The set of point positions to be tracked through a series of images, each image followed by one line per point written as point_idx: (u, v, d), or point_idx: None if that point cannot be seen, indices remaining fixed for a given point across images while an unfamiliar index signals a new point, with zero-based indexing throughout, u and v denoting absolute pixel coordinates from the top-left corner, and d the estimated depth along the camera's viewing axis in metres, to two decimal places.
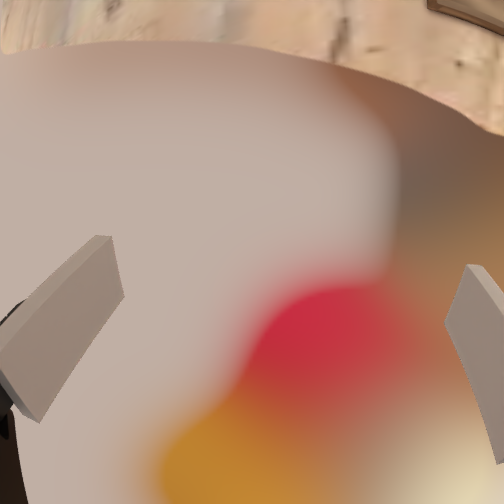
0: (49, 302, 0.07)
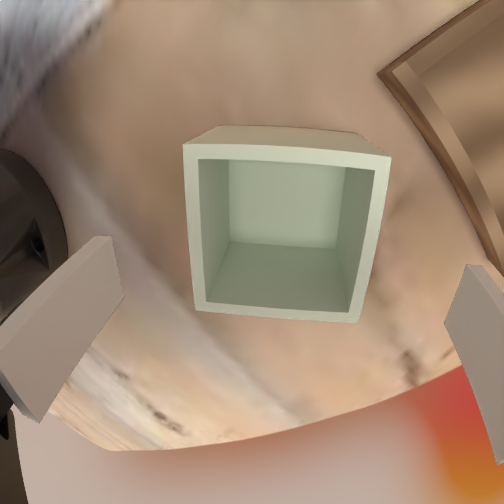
0: (49, 302, 0.07)
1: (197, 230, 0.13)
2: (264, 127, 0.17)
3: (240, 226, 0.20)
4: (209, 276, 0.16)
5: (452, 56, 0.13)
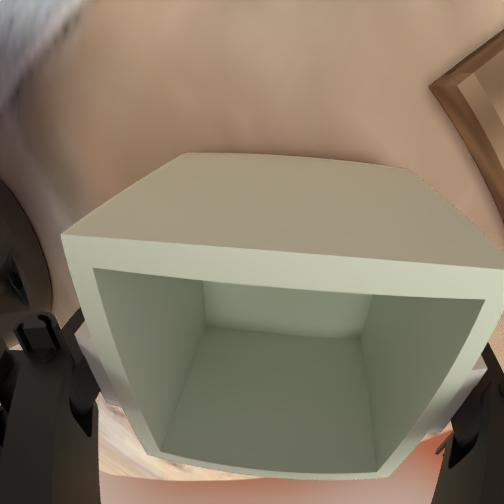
0: None
1: (123, 380, 0.07)
2: (255, 159, 0.10)
3: (221, 307, 0.13)
4: (163, 415, 0.09)
5: None
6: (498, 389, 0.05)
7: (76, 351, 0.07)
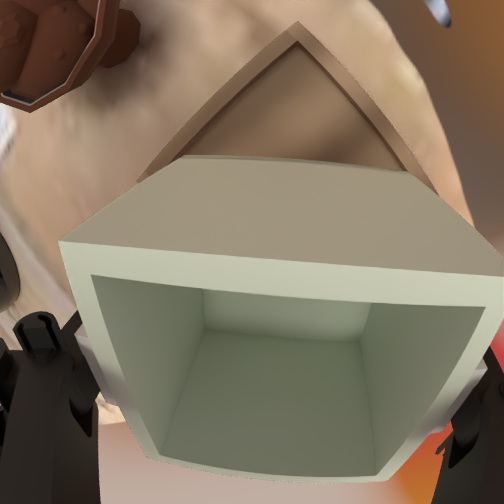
0: None
1: (122, 385, 0.06)
2: (254, 162, 0.10)
3: (221, 310, 0.13)
4: (163, 419, 0.09)
5: (202, 146, 0.23)
6: (498, 389, 0.05)
7: (76, 351, 0.07)
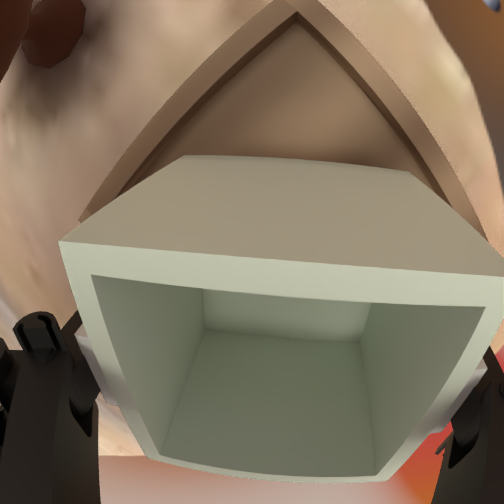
0: None
1: (122, 385, 0.06)
2: (254, 162, 0.10)
3: (221, 310, 0.13)
4: (163, 419, 0.09)
5: None
6: (498, 389, 0.05)
7: (76, 351, 0.07)
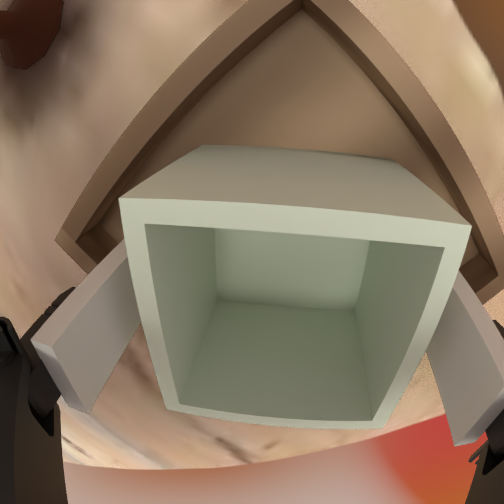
0: (102, 290, 0.08)
1: (156, 326, 0.08)
2: (263, 150, 0.12)
3: (231, 281, 0.15)
4: (183, 370, 0.11)
5: None
6: None
7: (35, 356, 0.06)
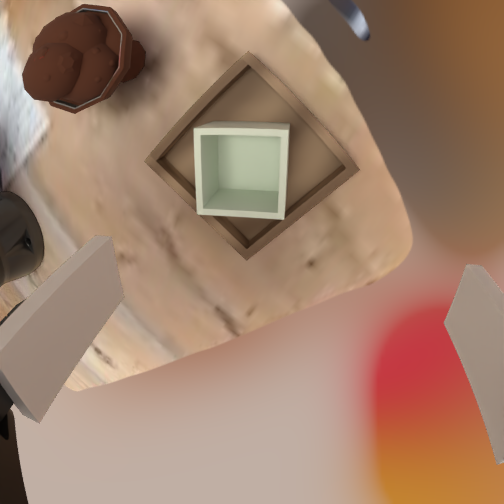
0: (49, 302, 0.07)
1: (199, 169, 0.27)
2: (236, 121, 0.31)
3: (225, 178, 0.34)
4: (205, 196, 0.29)
5: (189, 137, 0.33)
6: None
7: None
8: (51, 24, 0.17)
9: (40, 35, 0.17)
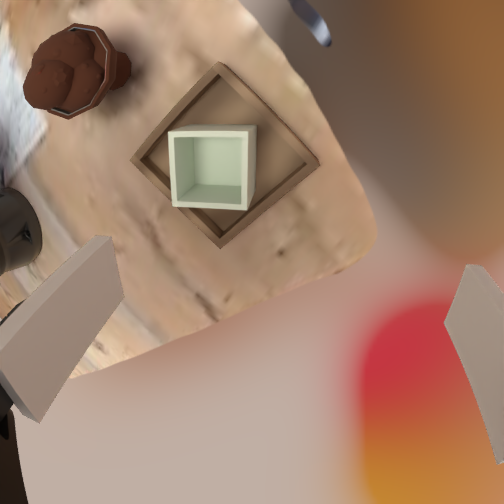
0: (49, 302, 0.07)
1: (173, 166, 0.31)
2: (209, 124, 0.34)
3: (200, 175, 0.38)
4: (179, 191, 0.33)
5: None
6: None
7: None
8: (47, 42, 0.21)
9: (37, 52, 0.21)
